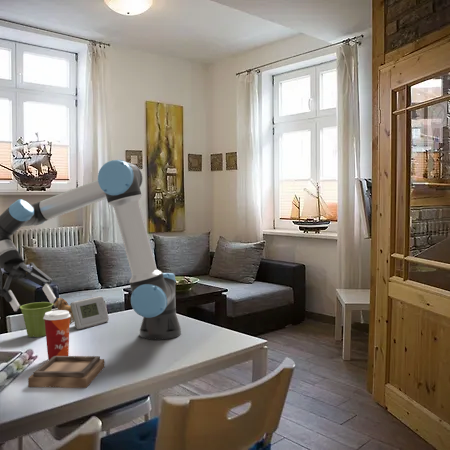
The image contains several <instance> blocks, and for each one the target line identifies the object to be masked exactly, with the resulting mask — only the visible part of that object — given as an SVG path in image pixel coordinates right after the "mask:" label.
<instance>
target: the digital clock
mask: <svg viewBox="0 0 450 450" xmlns="http://www.w3.org/2000/svg"><path fill="white" fill-rule="evenodd" d="M69 306H71V310H72V314H73V318H74V321H73V322H74V326H75V329H77V330H81V329H87V328H92V327H94V326H99V325H102V324H104V323H107V322H109V314H108V311H107V307H106V303H105V300H104V297H103V296H102V295H98V296H93V297H89V298H88V297H87V298H83V299H79V300H75V301H71V303H70V304H69ZM72 314H71V315H72ZM73 318H72V319H73Z"/></svg>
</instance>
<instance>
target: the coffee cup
mask: <svg viewBox="0 0 450 450" xmlns="http://www.w3.org/2000/svg"><path fill="white" fill-rule="evenodd" d="M71 317H72V314H71V313H70V314H69V311H66V310H58V309H56V310H51V311H49V312H46V313H45V316H44V317H43V319H44V320H45V331H46V335H45V339H46V348H47V349H46V350H47V351H46V352H47V361H48V360H49V359H51V358H52V357H53V356H69V354H70V353H69V350H70V349H69V348H70V324H71V323H70V318H71Z"/></svg>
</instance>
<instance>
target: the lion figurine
mask: <svg viewBox="0 0 450 450" xmlns="http://www.w3.org/2000/svg"><path fill="white" fill-rule="evenodd" d="M53 307H54V308H57V310H66V311H69V314H70V315H71V317H72V318H71V317H70V324H72V322H74V318H73V314H72V310H71V306H70V304H69V303H68V302H67V300H65V299H64V298H62V297H59V298H57V297H56V300H55V301H54V302H53Z"/></svg>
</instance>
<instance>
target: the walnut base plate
mask: <svg viewBox="0 0 450 450" xmlns="http://www.w3.org/2000/svg"><path fill="white" fill-rule="evenodd" d="M103 368H104V369H105V358H101V356H99V355H98V356H97V355H96V356H95V355H93V356H91V355H88V356H87V355H68V356H53V357H52V358H51V359H49V360H48V359H47V361H46V362H45V363H43V364H42V365H41V366H39V367H38V368H37V369H36V370H35V371H33V372H32V374H31V375H30V376H28V378H27V387H28V388H66V389H67V388H72V389H83V388H84V389H86V388H88V387H89V386H90V384H91V383H92V382H93V381H94V380H95V379H96V377H97V376H99V374H100V373H101V372H102V371H103V370H104V369H103ZM102 369H103V370H102Z"/></svg>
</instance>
